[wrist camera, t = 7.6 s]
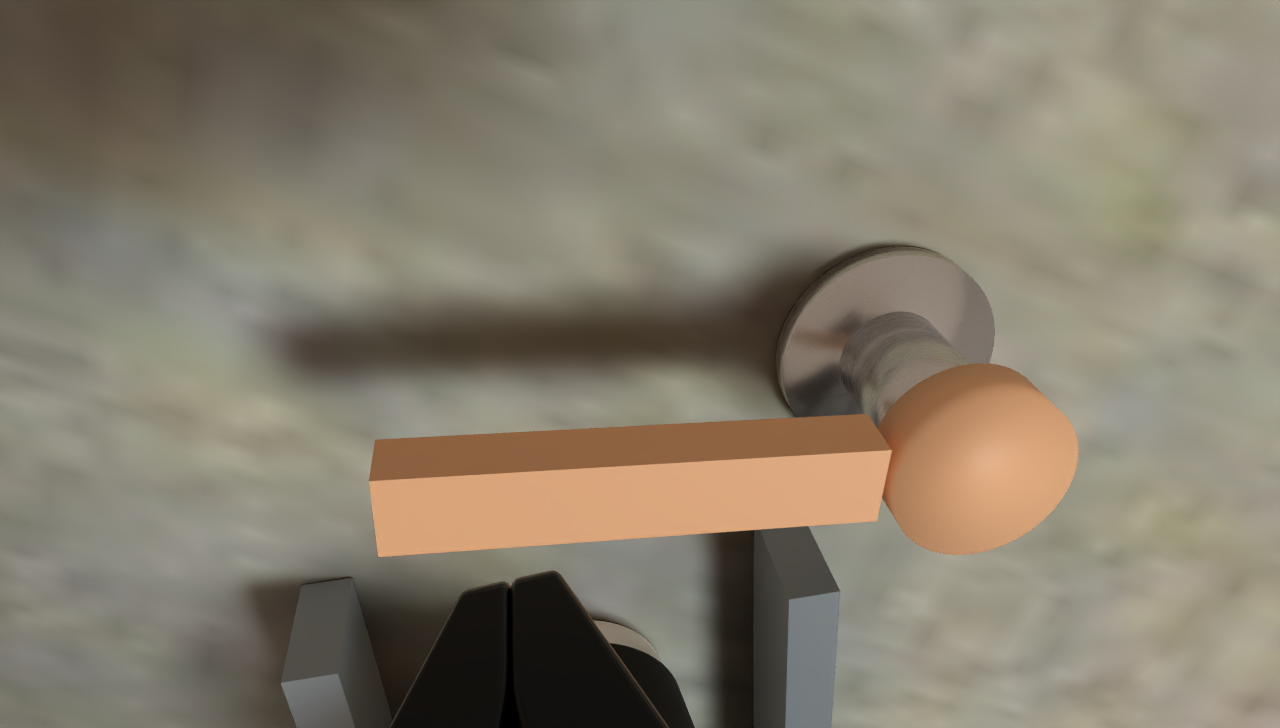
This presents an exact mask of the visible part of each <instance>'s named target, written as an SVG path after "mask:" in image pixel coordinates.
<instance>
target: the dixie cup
mask: <svg viewBox="0 0 1280 728" xmlns="http://www.w3.org/2000/svg"><path fill="white" fill-rule="evenodd" d="M593 621H594V622H595V624H596V625H597V626H598V628H599V629H600V631H601V632H602V633H603V635H604V636H605V638H606V639H607V640H608V642H609V643H610V645H611V646H612V648H613V649H614V650H615V652H616V653H617V655H618V656H619V657H620V659H621V660H622V662H623V663H624V664H625V666H626V667H627V669H628V670H629V672H630V673H631V674H632V676H633V677H634V679H635V680H636V681H637V683H638V684H639V686H640V687H641V688H642V690H643V691H644V693H645V694H646V696H647V697H648V698H649V700H650V701H651V703H652V704H653V705H654V707H655V708H656V710H657V711H658V712H659V714H660V715H661V717H662V718H663V720H664V721H665V722H666V724H667V725H668V727H669V728H695V727H694V725H693V722H692V720H691V717H690V715H689V712H688V710H687V707H686V704H685V702H684V699H683V697H682V694H681V692H680V689H679V687H678V684H677V682H676V680H675V679H674V677H673V675H672V674H671V673H670V671H669V670H668V669H667V668H666V667H665V666H664V665H663V664H662V663H661V662H660V659H659V657H658V655H657V653H656V651H655V649H654V648H653V647H652V645H651V644H650V643H649V642H648V641H647V640H646V639H645V638H644V637H642V636H641V635H640V634H638V633H636V632H635V631H633V630H631V629H629V628H627V627H624V626H621V625H618V624H614V623H610V622H605V621H595V620H593Z"/></svg>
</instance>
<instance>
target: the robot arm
mask: <svg viewBox="0 0 1280 728" xmlns="http://www.w3.org/2000/svg"><path fill="white" fill-rule="evenodd" d="M389 728H669V727H668V725H667V724H666V722H665V721H664V720H663V718H662V717H661V715H660V714H659V712H658V711H657V710H656V708H655V707H654V705H653V704H652V703H651V701H650V700H649V698H648V697H647V696H646V694H645V693H644V691H643V690H642V688H641V687H640V686H639V684H638V683H637V681H636V680H635V679H634V677H633V676H632V674H631V673H630V672H629V670H628V669H627V667H626V666H625V664H624V663H623V662H622V660H621V659H620V657H619V656H618V655H617V653H616V652H615V650H614V649H613V648H612V646H611V645H610V643H609V642H608V640H607V639H606V638H605V636H604V635H603V633H602V632H601V631H600V629H599V628H598V626H597V625H596V624H595V622H594V621H593V619H592V618H591V616H590V615H589V614H588V612H587V611H586V609H585V608H584V607H583V605H582V604H581V602H580V601H579V600H578V598H577V597H576V595H575V594H574V592H573V591H572V590H571V588H570V587H569V585H568V584H567V583H566V581H565V580H564V578H563V577H562V576H561V575H560V574H559V573H558V572H556V571H547V572H542V573H538V574H534V575H529V576H525V577H520V578H517V579H516V580H515V581H514V582H513V584H512V586H510V585H509V584H508V583H506V582H498V583H493V584H489V585H485V586H480V587H476V588H471V589H468V590H466V591H464V592H463V593H462V594H461V595H460V596H459V598H458V600H457V602H456V604H455V605H454V607H453V609H452V611H451V613H450V615H449V617H448V618H447V620H446V622H445V624H444V626H443V628H442V630H441V631H440V633H439V635H438V637H437V639H436V641H435V643H434V645H433V646H432V648H431V650H430V652H429V654H428V656H427V658H426V659H425V661H424V663H423V665H422V667H421V669H420V671H419V673H418V674H417V676H416V678H415V680H414V682H413V684H412V686H411V687H410V689H409V691H408V693H407V695H406V697H405V699H404V701H403V702H402V704H401V706H400V708H399V710H398V712H397V714H396V715H395V717H394V719H393V721H392V723H391V725H390V727H389Z"/></svg>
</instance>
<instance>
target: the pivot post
mask: <svg viewBox="0 0 1280 728" xmlns="http://www.w3.org/2000/svg"><path fill="white" fill-rule="evenodd" d="M994 335H995V329H994V318H993V314H992V309H991V307H990V304H989V302H988V299H987V297H986V295H985V294H984V292H983V291H982V289H981V287H980V286H979V285H978V284H977V283H976V282H975V281H974V280H973V279H972V278H971V277H970V276H969V275H968V274H967V273H966V272H965V271H963V270H962V269H961V268H960V267H959V266H958V265H956V264H955V263H954V262H953V261H951V260H950V259H948V258H946V257H944V256H943V255H941V254H938V253H935V252H933V251H930V250H927V249H922V248H917V247H906V246H897V247H885V248H880V249H875V250H871V251H868V252H865V253H861V254H858V255H856V256H854V257H852V258H849V259H847V260H845V261H843V262H842V263H840V264H838V265H836V266H835V267H833V268H831V269H830V270H829V271H827V272H826V273H825V274H823V275H822V276H821V277H819V278H818V279H817V280H816V281H815V282H814V283H813V284H812V285H811V286H810V287H809V288H808V289H807V290H806V291H805V292H804V293H803V294H802V296H801V297H800V298H799V299H798V301H797V302H796V304H795V305H794V307H793V308H792V309H791V311H790V313H789V315H788V317H787V319H786V321H785V323H784V325H783V328H782V331H781V333H780V336H779V341H778V345H777V352H776V373H777V377H778V382H779V385H780V388H781V391H782V393H783V395H784V397H785V399H786V401H787V402H788V404H789V406H790V408H791V410H792V411H793V413H794V415H795V416H796V418H798V417H817V416H836V415H855V414H868V416H869V417H870V419H871V420H872V422H873V423H874V425H875V426H876V428H878V426H879V424H880V422H881V421H882V419H883V417H884V416H885V415H886V413H887V412H888V410H889V409H890V408H891V407H892V406H893V405H894V403H895V402H896V401H897V400H898V399H899V398H900V397H901V396H903V395H904V394H905V393H906V392H907V391H908V390H910V389H911V388H912V387H914V386H915V385H916V384H918V383H919V382H921V381H923V380H925V379H926V378H928V377H930V376H932V375H934V374H936V373H939V372H941V371H944V370H947V369H950V368H953V367H957V366H961V365H966V364H976V363H986V364H989V361H990V358H991V355H992V350H993V346H994Z"/></svg>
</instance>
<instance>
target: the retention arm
mask: <svg viewBox="0 0 1280 728" xmlns="http://www.w3.org/2000/svg"><path fill="white" fill-rule="evenodd" d="M1078 454H1079V453H1078V441H1077V437H1076V433H1075V431H1074V429H1073V426H1072V425H1071V423H1070V422H1069V420H1068V419H1067V418H1066V417H1065V416H1064V415H1063V414H1062V413H1061V412H1060V411H1059V410H1058V409H1057V408H1056V407H1055V406H1054V405H1053V404H1052V403H1051V402H1050V401H1049V400H1048V399H1047V398H1046V397H1045V396H1044V395H1043V394H1042V393H1041V392H1040V391H1039V390H1038V389H1037V388H1036V387H1035V386H1034V385H1033V384H1032V383H1031V382H1030V381H1029V380H1028V379H1027V378H1026V377H1024V376H1023V375H1021V374H1020V373H1019V372H1017V371H1014V370H1012V369H1010V368H1007V367H1004V366H1001V365H995V364H986V363H976V364H966V365H961V366H957V367H953V368H950V369H947V370H944V371H941V372H939V373H936V374H934V375H932V376H930V377H928V378H926V379H925V380H923V381H921V382H919V383H918V384H916V385H915V386H914V387H912V388H911V389H910V390H908V391H907V392H906V393H905V394H904V395H903V396H901V397H900V398H899V399H898V400H897V401H896V402H895V403H894V405H893V406H892V407H891V408H890V409H889V410H888V412H887V413H886V415H885V416H884V417H883V419H882V421H881V422H880V424H879V426H878V428H876V426H875V425H874V423H873V422H872V420H871V419H870V417H869V416H868V414H855V415H836V416H817V417H798V418H779V419H760V420H741V421H722V422H703V423H684V424H665V425H646V426H628V427H609V428H590V429H571V430H552V431H533V432H514V433H495V434H476V435H457V436H438V437H419V438H400V439H381V440H375V444H374V450H373V457H372V464H371V471H370V478H369V485H370V494H371V502H372V510H373V518H374V526H375V535H376V543H377V551H378V557H386V556H400V555H414V554H427V553H441V552H455V551H469V550H483V549H497V548H511V547H524V546H538V545H552V544H566V543H580V542H594V541H607V540H621V539H635V538H649V537H663V536H677V535H691V534H704V533H718V532H732V531H746V530H760V529H774V528H787V527H801V526H815V525H829V524H843V523H857V522H871V521H877V518H878V513H879V509H880V504H881V499H882V498H883V500H884V502H885V503H886V505H887V506H888V508H889V510H890V511H891V513H892V515H893V516H894V518H895V519H896V521H897V523H898V524H899V526H900V527H901V529H902V531H903V532H904V533H905V534H906V535H907V536H908V538H910V539H911V540H912V541H913V542H915V543H916V544H918V545H919V546H921V547H923V548H925V549H928V550H931V551H933V552H938V553H942V554H951V555H965V554H973V553H979V552H983V551H987V550H991V549H994V548H997V547H1000V546H1002V545H1004V544H1007V543H1009V542H1011V541H1013V540H1015V539H1017V538H1018V537H1020V536H1022V535H1024V534H1025V533H1027V532H1028V531H1030V530H1031V529H1032V528H1034V527H1035V526H1036V525H1037V524H1039V523H1040V522H1041V521H1042V520H1043V519H1044V518H1045V517H1047V516H1048V515H1049V514H1050V513H1051V512H1052V510H1053V509H1054V508H1055V507H1056V506H1057V505H1058V503H1059V502H1060V501H1061V499H1062V498H1063V496H1064V495H1065V493H1066V491H1067V490H1068V488H1069V486H1070V484H1071V482H1072V479H1073V477H1074V474H1075V471H1076V467H1077V463H1078Z"/></svg>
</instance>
